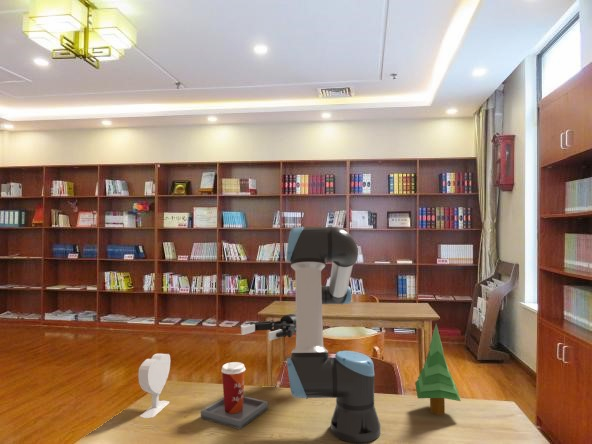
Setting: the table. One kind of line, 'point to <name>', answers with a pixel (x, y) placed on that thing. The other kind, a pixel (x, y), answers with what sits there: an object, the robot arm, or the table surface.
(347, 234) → the robot arm
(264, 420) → the table surface
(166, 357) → the heart sculpture
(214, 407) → the tray
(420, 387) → the decorative tree
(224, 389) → the coffee cup
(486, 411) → the table surface
